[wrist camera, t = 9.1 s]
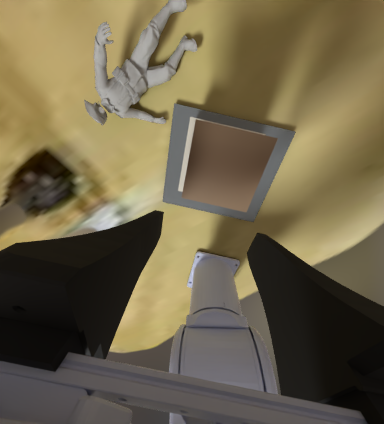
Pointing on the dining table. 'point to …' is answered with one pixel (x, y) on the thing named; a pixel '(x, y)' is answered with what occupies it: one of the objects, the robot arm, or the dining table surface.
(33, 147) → the dining table surface
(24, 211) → the dining table surface
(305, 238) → the dining table surface
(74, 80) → the dining table surface
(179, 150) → the slate board
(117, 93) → the soldier figure
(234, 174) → the walnut cube
